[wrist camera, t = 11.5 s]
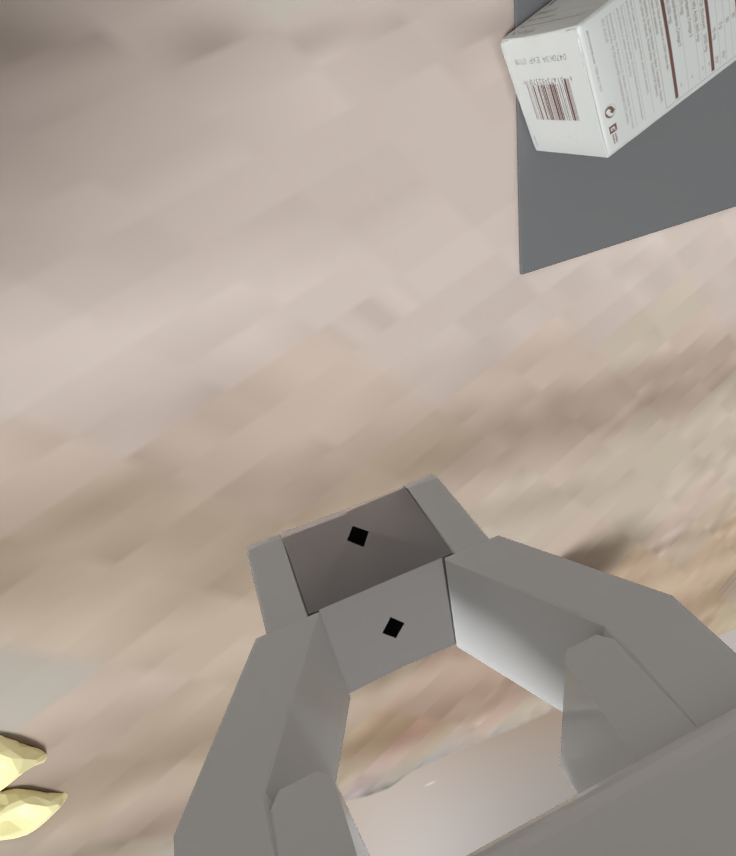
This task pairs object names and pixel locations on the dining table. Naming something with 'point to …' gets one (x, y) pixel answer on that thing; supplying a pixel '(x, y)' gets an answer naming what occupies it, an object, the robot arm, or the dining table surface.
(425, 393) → the dining table surface
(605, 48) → the supplement box
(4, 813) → the banana bunch
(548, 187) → the mat
